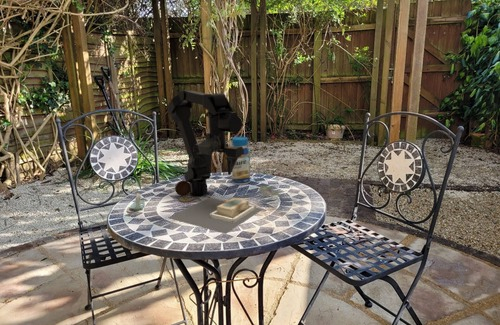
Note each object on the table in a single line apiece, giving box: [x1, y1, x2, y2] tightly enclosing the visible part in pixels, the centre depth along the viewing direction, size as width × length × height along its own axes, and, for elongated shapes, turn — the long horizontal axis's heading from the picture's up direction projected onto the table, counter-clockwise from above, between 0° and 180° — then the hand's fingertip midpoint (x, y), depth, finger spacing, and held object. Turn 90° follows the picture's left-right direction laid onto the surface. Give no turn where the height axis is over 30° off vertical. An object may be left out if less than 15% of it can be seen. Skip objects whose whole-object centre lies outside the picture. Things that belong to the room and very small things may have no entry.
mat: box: [167, 197, 264, 234], centre depth 117 cm, size 24×22×2 cm
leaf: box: [259, 185, 279, 199], centre depth 134 cm, size 20×8×1 cm, turn 2°
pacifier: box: [126, 192, 146, 214], centre depth 122 cm, size 7×6×6 cm
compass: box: [174, 179, 197, 203], centre depth 131 cm, size 8×8×7 cm
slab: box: [217, 197, 249, 218], centre depth 116 cm, size 10×6×4 cm, turn 147°
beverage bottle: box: [231, 136, 251, 186], centre depth 150 cm, size 8×8×20 cm
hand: (219, 172), depth 124 cm, fingers open, 9 cm apart
